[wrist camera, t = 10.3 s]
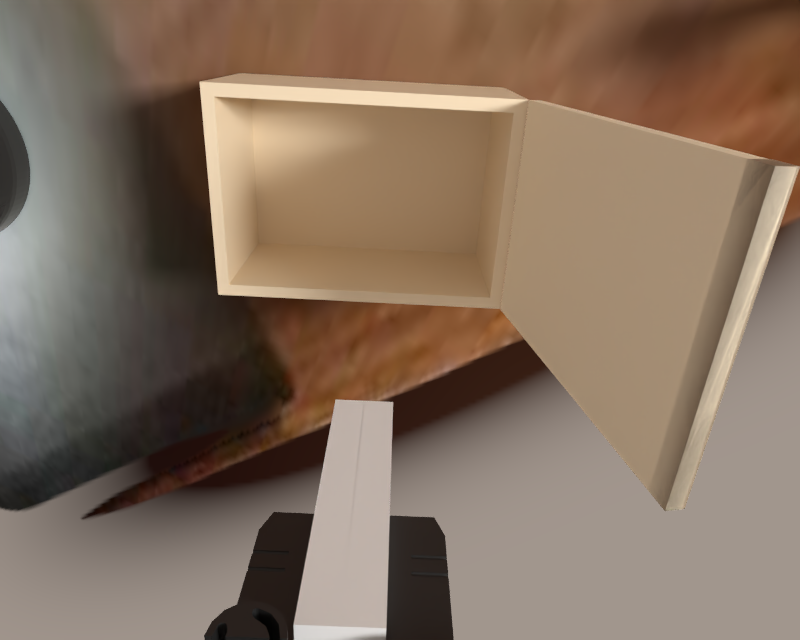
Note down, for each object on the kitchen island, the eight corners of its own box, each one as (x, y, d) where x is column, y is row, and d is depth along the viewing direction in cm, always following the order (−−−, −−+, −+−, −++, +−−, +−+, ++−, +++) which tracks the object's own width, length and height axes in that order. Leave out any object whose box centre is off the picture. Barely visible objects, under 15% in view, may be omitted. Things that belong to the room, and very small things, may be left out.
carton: (251, 249, 51) (218, 294, 42) (241, 73, 45) (199, 81, 36) (483, 260, 51) (500, 308, 42) (503, 87, 45) (528, 99, 36)
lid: (665, 511, 24) (684, 508, 24) (775, 165, 18) (799, 166, 18) (500, 309, 42) (512, 308, 42) (529, 99, 36) (542, 100, 36)
